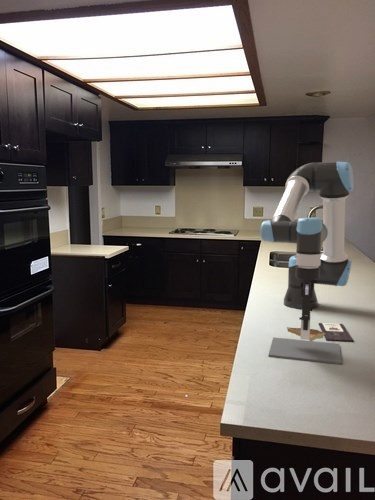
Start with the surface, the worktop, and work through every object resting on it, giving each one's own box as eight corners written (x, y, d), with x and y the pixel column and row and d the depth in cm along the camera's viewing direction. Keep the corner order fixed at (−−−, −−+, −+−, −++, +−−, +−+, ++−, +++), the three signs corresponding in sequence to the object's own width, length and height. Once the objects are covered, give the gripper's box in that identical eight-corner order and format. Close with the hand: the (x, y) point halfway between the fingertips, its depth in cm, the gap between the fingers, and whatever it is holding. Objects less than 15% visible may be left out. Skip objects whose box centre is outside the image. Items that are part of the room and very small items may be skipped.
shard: (286, 331, 139) (286, 326, 139) (302, 327, 143) (303, 323, 142) (310, 341, 130) (310, 336, 129) (327, 337, 133) (327, 332, 133)
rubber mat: (273, 338, 146) (273, 337, 146) (338, 345, 139) (338, 343, 139) (268, 356, 131) (268, 354, 131) (341, 364, 124) (341, 362, 124)
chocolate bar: (326, 339, 144) (318, 322, 161) (326, 341, 144) (318, 325, 162) (353, 340, 142) (342, 323, 160) (353, 343, 143) (342, 326, 160)
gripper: (297, 260, 142) (294, 323, 145) (294, 271, 122) (291, 344, 125) (319, 261, 140) (317, 325, 143) (320, 272, 120) (317, 347, 123)
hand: (305, 334), depth 134 cm, fingers closed on shard, 8 cm apart
